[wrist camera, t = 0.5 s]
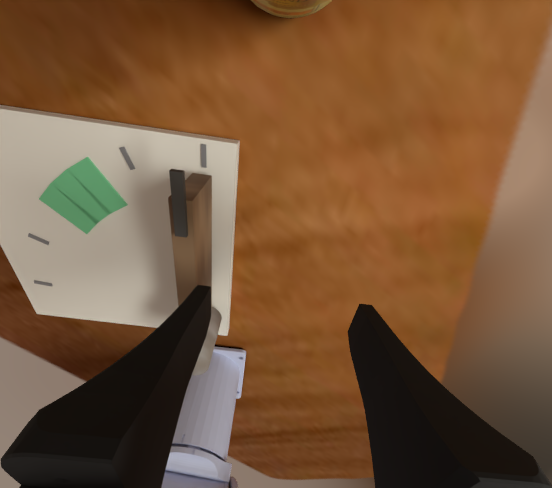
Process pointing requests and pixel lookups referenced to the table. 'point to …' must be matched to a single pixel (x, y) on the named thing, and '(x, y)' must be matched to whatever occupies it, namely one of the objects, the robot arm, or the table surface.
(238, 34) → the table surface
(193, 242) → the tuning lever
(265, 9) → the sauce bottle
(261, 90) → the table surface
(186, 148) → the tuner dial board
